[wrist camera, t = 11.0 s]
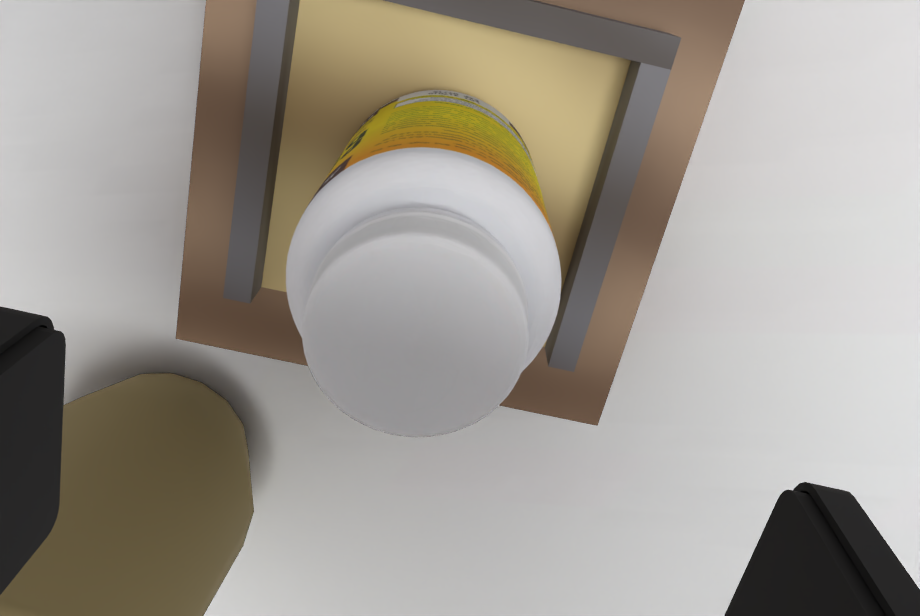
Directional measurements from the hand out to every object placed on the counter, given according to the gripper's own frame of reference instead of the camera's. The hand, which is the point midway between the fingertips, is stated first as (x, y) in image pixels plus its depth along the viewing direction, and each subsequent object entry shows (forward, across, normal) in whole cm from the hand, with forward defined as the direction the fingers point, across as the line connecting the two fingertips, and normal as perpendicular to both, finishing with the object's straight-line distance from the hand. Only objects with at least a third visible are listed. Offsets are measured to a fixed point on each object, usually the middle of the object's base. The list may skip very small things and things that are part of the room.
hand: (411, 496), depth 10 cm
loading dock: (+17, +1, -1) cm, 17 cm away
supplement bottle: (+14, +1, -1) cm, 14 cm away
